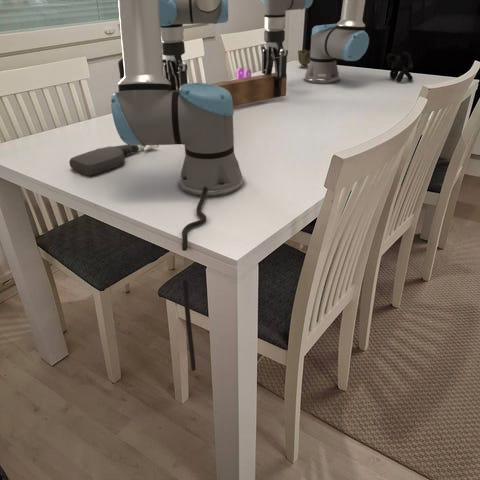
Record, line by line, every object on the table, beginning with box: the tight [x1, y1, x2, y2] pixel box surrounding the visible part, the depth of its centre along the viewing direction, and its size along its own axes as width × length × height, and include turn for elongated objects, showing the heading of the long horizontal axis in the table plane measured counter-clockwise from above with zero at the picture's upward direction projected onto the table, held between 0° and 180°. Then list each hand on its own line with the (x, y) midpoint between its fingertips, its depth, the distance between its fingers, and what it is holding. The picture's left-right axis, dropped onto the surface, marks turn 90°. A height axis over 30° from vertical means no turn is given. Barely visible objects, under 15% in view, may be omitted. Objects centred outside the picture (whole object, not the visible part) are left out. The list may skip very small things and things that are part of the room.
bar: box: [171, 72, 288, 107], centre depth 163 cm, size 51×5×8 cm, turn 124°
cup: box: [297, 49, 311, 69], centre depth 225 cm, size 8×7×8 cm
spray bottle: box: [68, 144, 160, 177], centre depth 124 cm, size 3×11×24 cm
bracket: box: [235, 67, 252, 79], centre depth 199 cm, size 13×6×7 cm, turn 143°
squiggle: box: [385, 51, 414, 83], centre depth 198 cm, size 11×10×15 cm
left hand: (178, 113), depth 155 cm, fingers closed on bar, 5 cm apart
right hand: (273, 94), depth 175 cm, fingers closed on bar, 5 cm apart
